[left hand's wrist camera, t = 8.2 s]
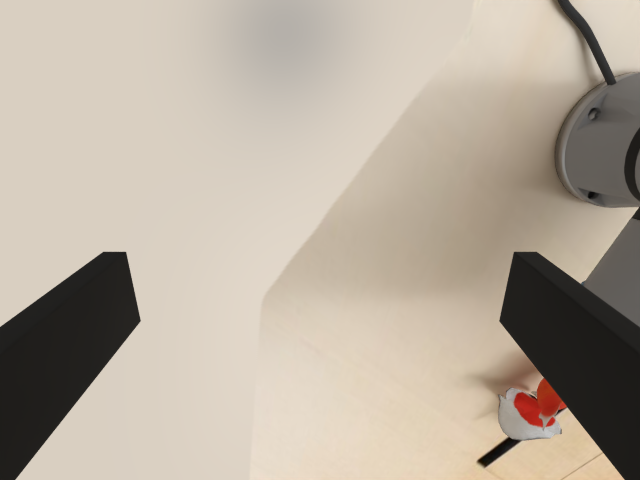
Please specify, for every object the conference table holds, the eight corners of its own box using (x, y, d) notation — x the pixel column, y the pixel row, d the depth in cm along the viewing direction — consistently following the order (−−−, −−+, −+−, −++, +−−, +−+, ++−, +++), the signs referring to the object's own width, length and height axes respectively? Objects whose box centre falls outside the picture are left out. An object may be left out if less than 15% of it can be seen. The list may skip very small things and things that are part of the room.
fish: (620, 401, 53) (628, 458, 45) (516, 418, 63) (509, 467, 55) (575, 340, 53) (575, 387, 46) (479, 366, 63) (466, 408, 56)
